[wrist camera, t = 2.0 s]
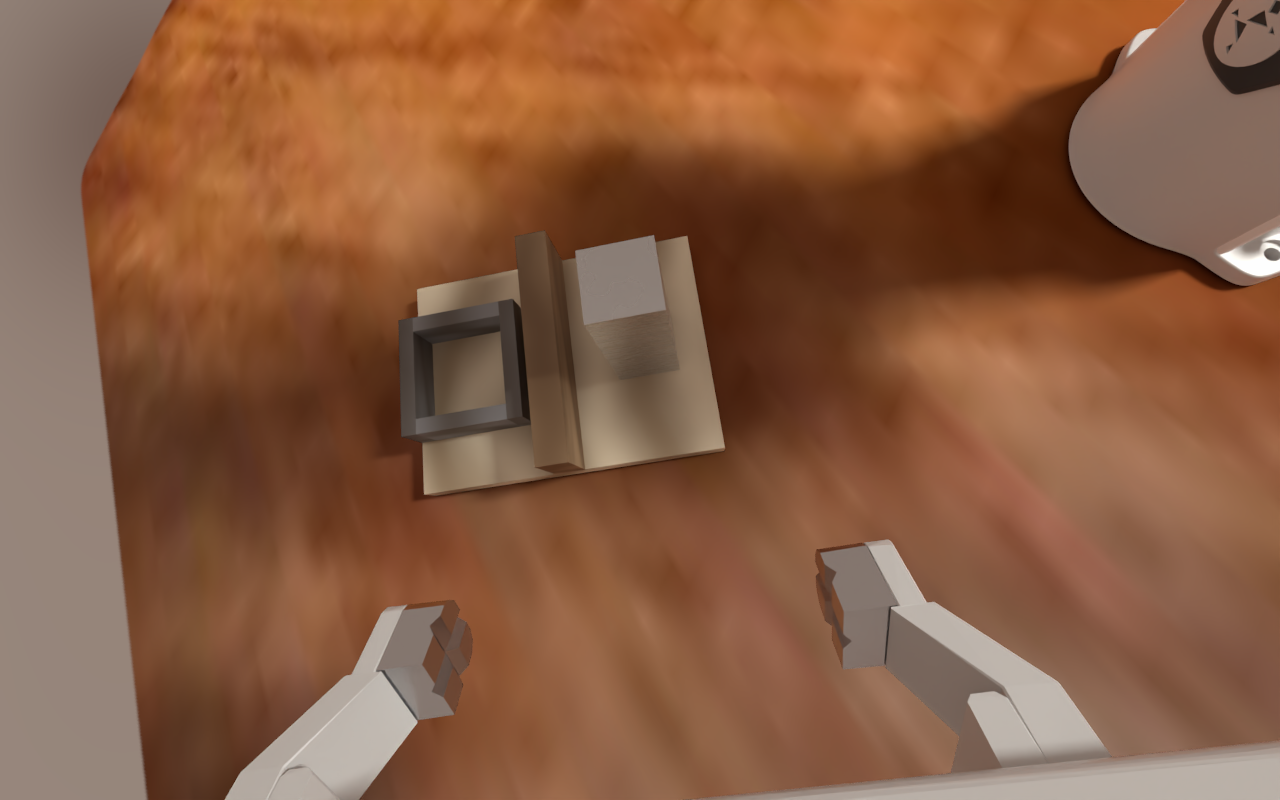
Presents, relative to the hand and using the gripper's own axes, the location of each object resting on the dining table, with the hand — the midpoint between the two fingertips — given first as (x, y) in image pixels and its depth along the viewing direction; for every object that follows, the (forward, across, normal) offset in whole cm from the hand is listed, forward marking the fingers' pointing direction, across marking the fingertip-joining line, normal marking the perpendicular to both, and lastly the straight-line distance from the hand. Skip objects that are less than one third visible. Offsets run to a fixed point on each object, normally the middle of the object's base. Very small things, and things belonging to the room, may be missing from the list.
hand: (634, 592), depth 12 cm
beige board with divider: (+25, +6, +6) cm, 27 cm away
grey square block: (+24, 0, +5) cm, 25 cm away
